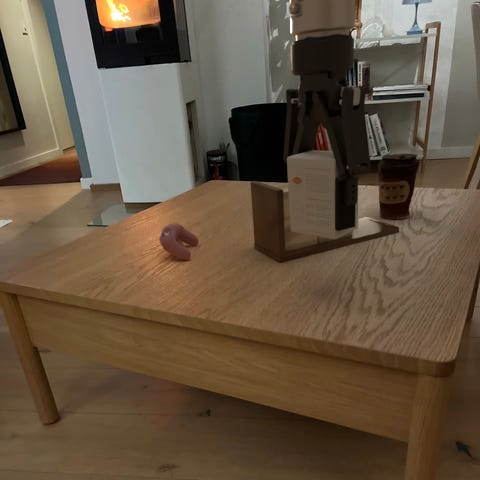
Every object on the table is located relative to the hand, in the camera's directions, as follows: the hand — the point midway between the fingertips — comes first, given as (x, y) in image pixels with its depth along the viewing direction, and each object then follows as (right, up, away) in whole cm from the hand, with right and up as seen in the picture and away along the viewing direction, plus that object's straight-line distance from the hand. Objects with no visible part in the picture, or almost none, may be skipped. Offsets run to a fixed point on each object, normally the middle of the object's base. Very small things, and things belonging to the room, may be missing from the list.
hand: (323, 220), depth 67 cm
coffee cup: (+23, +9, +39) cm, 46 cm away
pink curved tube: (-24, -1, +28) cm, 37 cm away
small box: (0, -2, +1) cm, 2 cm away
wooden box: (+6, +2, +28) cm, 29 cm away
